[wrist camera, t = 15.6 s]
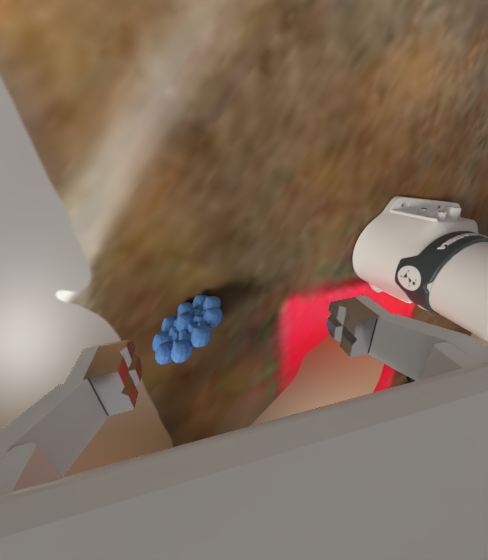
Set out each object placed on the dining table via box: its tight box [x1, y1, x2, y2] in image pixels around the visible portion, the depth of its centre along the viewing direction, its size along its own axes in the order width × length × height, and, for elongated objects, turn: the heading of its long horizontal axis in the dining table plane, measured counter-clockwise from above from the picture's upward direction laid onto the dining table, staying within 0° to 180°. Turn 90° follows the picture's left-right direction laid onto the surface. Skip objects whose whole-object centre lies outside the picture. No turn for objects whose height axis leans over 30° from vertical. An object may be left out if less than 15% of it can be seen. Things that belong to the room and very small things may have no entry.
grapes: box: [152, 295, 222, 364], centre depth 35 cm, size 12×7×12 cm, turn 116°
